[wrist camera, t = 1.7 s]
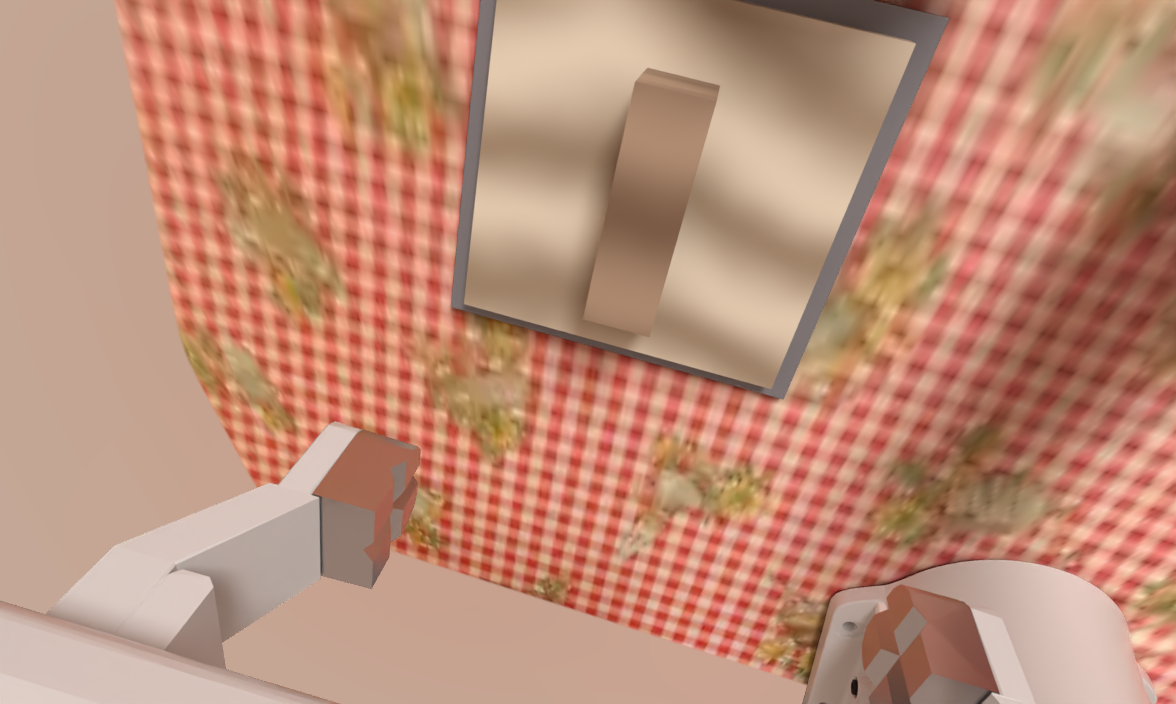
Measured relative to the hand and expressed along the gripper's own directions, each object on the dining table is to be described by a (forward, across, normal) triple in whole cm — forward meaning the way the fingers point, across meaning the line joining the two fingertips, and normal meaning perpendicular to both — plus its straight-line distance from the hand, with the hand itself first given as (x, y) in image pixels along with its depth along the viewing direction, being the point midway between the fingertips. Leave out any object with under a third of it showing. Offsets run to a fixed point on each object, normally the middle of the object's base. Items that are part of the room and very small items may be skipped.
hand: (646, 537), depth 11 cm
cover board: (+22, +2, +2) cm, 22 cm away
